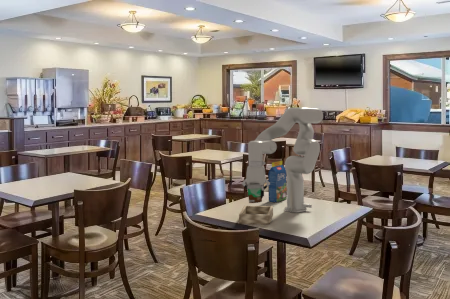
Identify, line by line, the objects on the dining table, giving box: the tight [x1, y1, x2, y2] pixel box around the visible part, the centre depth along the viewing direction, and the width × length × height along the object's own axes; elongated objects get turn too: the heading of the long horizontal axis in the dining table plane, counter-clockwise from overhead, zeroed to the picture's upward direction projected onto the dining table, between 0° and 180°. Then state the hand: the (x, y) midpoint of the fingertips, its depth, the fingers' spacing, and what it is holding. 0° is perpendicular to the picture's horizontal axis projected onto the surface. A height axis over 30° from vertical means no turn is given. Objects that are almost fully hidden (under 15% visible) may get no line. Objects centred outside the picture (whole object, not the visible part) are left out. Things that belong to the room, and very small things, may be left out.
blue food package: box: [267, 160, 287, 203], centre depth 277 cm, size 6×12×25 cm, turn 140°
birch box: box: [238, 205, 274, 226], centre depth 234 cm, size 16×20×5 cm
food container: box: [246, 184, 265, 204], centre depth 232 cm, size 12×6×10 cm, turn 151°
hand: (256, 197), depth 233 cm, fingers closed on food container, 5 cm apart
